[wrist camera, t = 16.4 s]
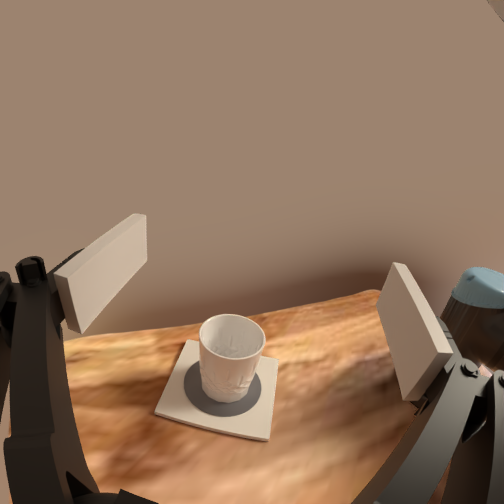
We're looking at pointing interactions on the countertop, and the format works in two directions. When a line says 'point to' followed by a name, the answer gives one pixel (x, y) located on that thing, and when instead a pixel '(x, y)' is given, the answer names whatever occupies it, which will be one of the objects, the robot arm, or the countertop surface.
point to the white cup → (229, 356)
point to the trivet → (219, 413)
